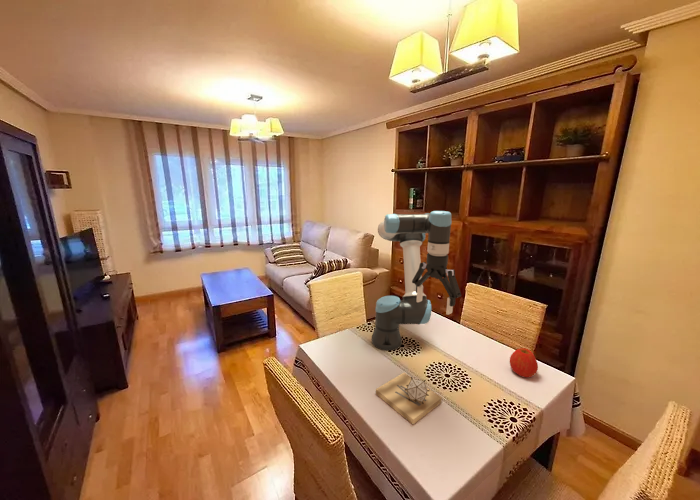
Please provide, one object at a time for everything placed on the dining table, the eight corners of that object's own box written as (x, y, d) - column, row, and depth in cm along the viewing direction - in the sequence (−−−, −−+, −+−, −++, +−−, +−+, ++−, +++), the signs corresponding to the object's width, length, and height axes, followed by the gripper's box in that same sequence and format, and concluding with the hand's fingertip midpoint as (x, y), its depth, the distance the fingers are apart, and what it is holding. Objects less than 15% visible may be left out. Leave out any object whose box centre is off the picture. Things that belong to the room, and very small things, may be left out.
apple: (509, 361, 127) (513, 340, 124) (537, 370, 121) (540, 348, 118) (506, 373, 118) (510, 351, 116) (535, 383, 113) (539, 360, 110)
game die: (419, 405, 103) (436, 385, 103) (417, 415, 95) (436, 392, 95) (400, 387, 106) (416, 367, 106) (396, 395, 98) (414, 373, 98)
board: (375, 393, 107) (375, 389, 107) (403, 376, 117) (404, 372, 116) (412, 424, 93) (413, 419, 93) (441, 402, 103) (441, 397, 102)
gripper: (404, 248, 111) (402, 299, 115) (463, 262, 91) (457, 322, 96) (417, 246, 115) (414, 294, 120) (475, 259, 96) (469, 316, 101)
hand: (433, 307), depth 108 cm, fingers open, 13 cm apart
